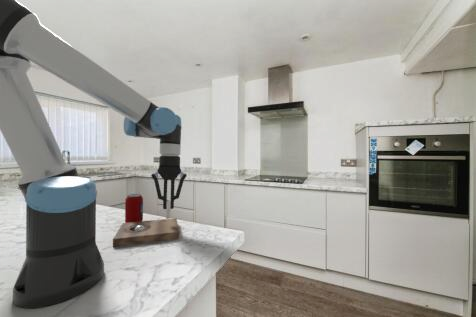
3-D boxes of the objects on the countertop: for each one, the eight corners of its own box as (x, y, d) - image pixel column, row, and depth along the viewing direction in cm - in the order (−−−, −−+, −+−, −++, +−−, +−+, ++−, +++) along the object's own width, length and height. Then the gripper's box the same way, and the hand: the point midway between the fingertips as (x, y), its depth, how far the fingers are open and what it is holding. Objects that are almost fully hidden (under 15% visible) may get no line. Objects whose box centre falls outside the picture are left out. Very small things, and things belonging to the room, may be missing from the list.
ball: (139, 238, 71) (146, 231, 72) (131, 232, 70) (139, 224, 71) (140, 234, 74) (147, 227, 75) (132, 229, 73) (140, 221, 74)
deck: (176, 224, 85) (176, 218, 85) (178, 238, 70) (178, 231, 70) (122, 229, 78) (122, 222, 78) (112, 246, 63) (112, 239, 63)
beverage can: (146, 222, 86) (146, 194, 86) (130, 226, 81) (130, 197, 81) (137, 219, 90) (137, 193, 90) (121, 223, 84) (122, 195, 84)
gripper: (186, 156, 82) (184, 213, 81) (152, 155, 77) (150, 215, 77) (188, 156, 75) (186, 219, 74) (150, 154, 70) (148, 221, 70)
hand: (168, 217), depth 76 cm, fingers closed
